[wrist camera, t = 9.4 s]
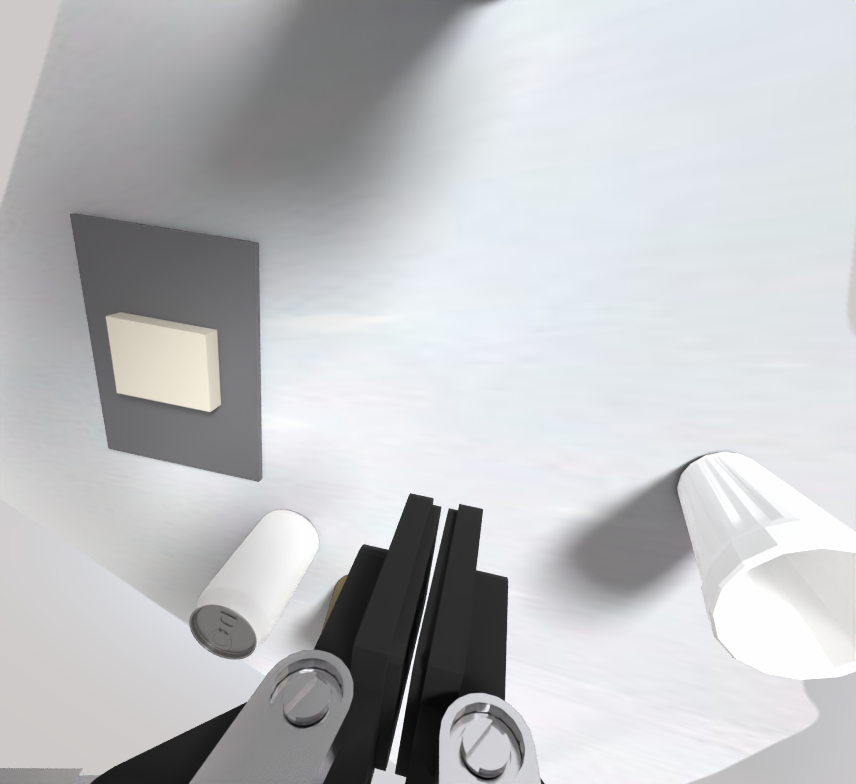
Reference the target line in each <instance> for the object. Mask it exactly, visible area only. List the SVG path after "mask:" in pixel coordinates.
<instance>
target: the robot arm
mask: <svg viewBox="0 0 856 784" xmlns="http://www.w3.org/2000/svg"><path fill="white" fill-rule="evenodd" d="M440 513H441V507H440V506H436V505H433V498H429V497H425V496H420V495H416V494H411V493H410V495H409V497H408V499H407V502H406V505H405V507H404V510H403V513H402V516H401V518H400V521H399V524H398V526H397V529H396V532H395V534H394V537H393V540H392V542H391V545H390V548H389V550H386V549H382V548H378V547H373V546H369V545H365V544H363V545H362V547H361V548H360V550H359V552H358V554H357V557H356V559H355V561H354V563H353V565H352V567H351V570H350V572H349V574H348V576H347V578H346V581H345V583H344V585H343V587H342V589H341V592H340V594H339V596H338V598H337V600H336V602H335V605H334V607H333V609H332V611H331V613H330V616H329V618H328V620H327V622H326V624H325V627H324V629H323V631H322V633H321V635H320V637H319V640H318V642H317V644H316V646H315V648H314V650H304V651H301V652H297V653H294V654H291V655H289V656H288V657H286V658H285V659H283V660H281V661H280V662H278V663H277V664H276V665H275V666H274V667H273V669H272V670H271V671H270V672H269V673H268V674H267V675H266V677H265V678H264V680H263V681H262V682H261V684H260V685H259V687H258V688H257V689H256V691H255V692H254V694H253V695H252V696H251V698H250V699H249V701H248V702H246V703H244V704H242V705H240V706H238V707H236V708H234V709H232V710H230V711H228V712H226V713H224V714H222V715H219V716H217V717H215V718H213V719H211V720H209V721H207V722H205V723H203V724H201V725H199V726H197V727H195V728H193V729H191V730H189V731H187V732H185V733H183V734H181V735H178V736H176V737H174V738H172V739H170V740H168V741H166V742H164V743H162V744H160V745H158V746H156V747H154V748H152V749H150V750H148V751H146V752H144V753H142V754H140V755H138V756H135V757H133V758H131V759H129V760H128V761H126V762H123V763H121V764H119V765H117V766H115V767H113V768H112V769H110V770H108V771H107V772H105V773H104V774H102V775H98V776H97V775H95V776H94V775H91V776H90V775H88V776H87V775H86V776H85V775H84V773H83V769H37V768H32V769H30V768H29V769H28V768H20V769H19V768H18V769H17V768H16V769H15V768H14V769H13V768H11V769H10V768H6V769H5V768H0V784H371V781H372V777H373V773H374V769H375V768H377V769H380V770H384V771H386V768H387V764H388V760H389V755H390V751H391V747H392V743H393V738H394V734H395V730H396V725H397V721H398V717H399V713H400V708H401V704H402V700H403V695H404V691H405V687H406V683H407V678H408V674H409V670H410V665H411V661H412V657H413V653H414V648H415V644H416V640H417V635H418V631H419V627H420V623H421V618H422V614H423V610H424V605H425V600H426V595H427V589H428V583H429V577H430V571H431V566H432V560H433V554H434V548H435V542H436V536H437V530H438V524H439V519H440ZM482 514H483V509H480V508H476V507H471V506H466V505H462V504H459V508H458V510H454V509H449V510H448V514H447V518H446V523H445V527H444V531H443V536H442V540H441V544H440V549H439V553H438V558H437V562H436V566H435V571H434V575H433V579H432V584H431V588H430V593H429V597H428V601H427V606H426V610H425V615H424V619H423V623H422V628H421V632H420V636H419V641H418V645H417V650H416V655H415V660H414V665H413V670H412V676H411V682H410V687H409V693H408V699H407V705H406V711H405V717H404V723H403V729H402V735H401V741H400V747H399V753H398V758H397V764H396V770H395V774H397V775H401V776H404V777H406V782H405V784H544V782H543V781H542V779H541V778H540V774H539V768H538V762H537V756H536V750H535V745H534V741H533V738H532V735H531V732H530V729H529V727H528V726H527V724H526V722H525V721H524V719H523V717H522V716H521V715H520V714H519V713H518V712H517V711H516V710H515V709H514V708H513V707H512V706H511V705H510V704H509V703H507V702H505V677H506V641H507V606H508V579H507V577H503V576H498V575H494V574H490V573H486V572H481V571H477V570H476V566H477V557H478V549H479V540H480V531H481V523H482Z"/></svg>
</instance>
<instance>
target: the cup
mask: <svg viewBox="0 0 856 784" xmlns="http://www.w3.org/2000/svg"><path fill="white" fill-rule="evenodd" d="M677 491H678V495H679V499H680V503H681V506H682V510H683V513H684V517H685V521H686V524H687V528H688V532H689V535H690V539H691V543H692V546H693V550H694V554H695V557H696V561H697V565H698V568H699V572H700V576H701V579H702V586H701V589H702V593H703V597H704V602H705V606H706V610H707V614H708V617H709V621H710V624H711V627H712V631H713V634H714V637H715V638H716V639H717V640H718V641H719V642H720V644H721V645H722V646H723V647H724V648H725V649H726V650H727V651H728V653H729V654H730V655H731V656H732V657H733V658H735V659H737V660H739V661H741V662H743V663H745V664H747V665H749V666H751V667H753V668H755V669H757V670H759V671H761V672H763V673H766V674H771V675H777V676H783V677H789V678H794V679H800V680H804V679H816V678H830V677H840V676H843V675H846V674H849V673H852V672H855V671H856V533H855V532H854V531H853V530H851V529H850V528H848V527H847V526H846V525H844V524H843V523H841V522H840V521H839V520H837V519H836V518H834V517H833V516H831V515H830V514H829V513H827V512H826V511H824V510H823V509H822V508H820V507H819V506H817V505H816V504H814V503H813V502H812V501H810V500H809V499H807V498H806V497H805V496H803V495H802V494H800V493H799V492H798V491H796V490H795V489H793V488H792V487H790V486H789V485H788V484H786V483H785V482H783V481H782V480H781V479H779V478H778V477H776V476H775V475H773V474H772V473H771V472H769V471H768V470H766V469H765V468H764V467H762V466H761V465H759V464H758V463H757V462H755V461H753V460H751V459H750V458H747V457H745V456H743V455H741V454H737V453H728V452H720V453H715V454H710V455H705V456H704V457H702V458H700V459H698V460H696V461H695V462H693V463H691V464H690V465H689V466H688V467H687V469H686V470H685V471H684V472H683V473H682V475H681V477H680V480H679V483H678V487H677Z"/></svg>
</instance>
